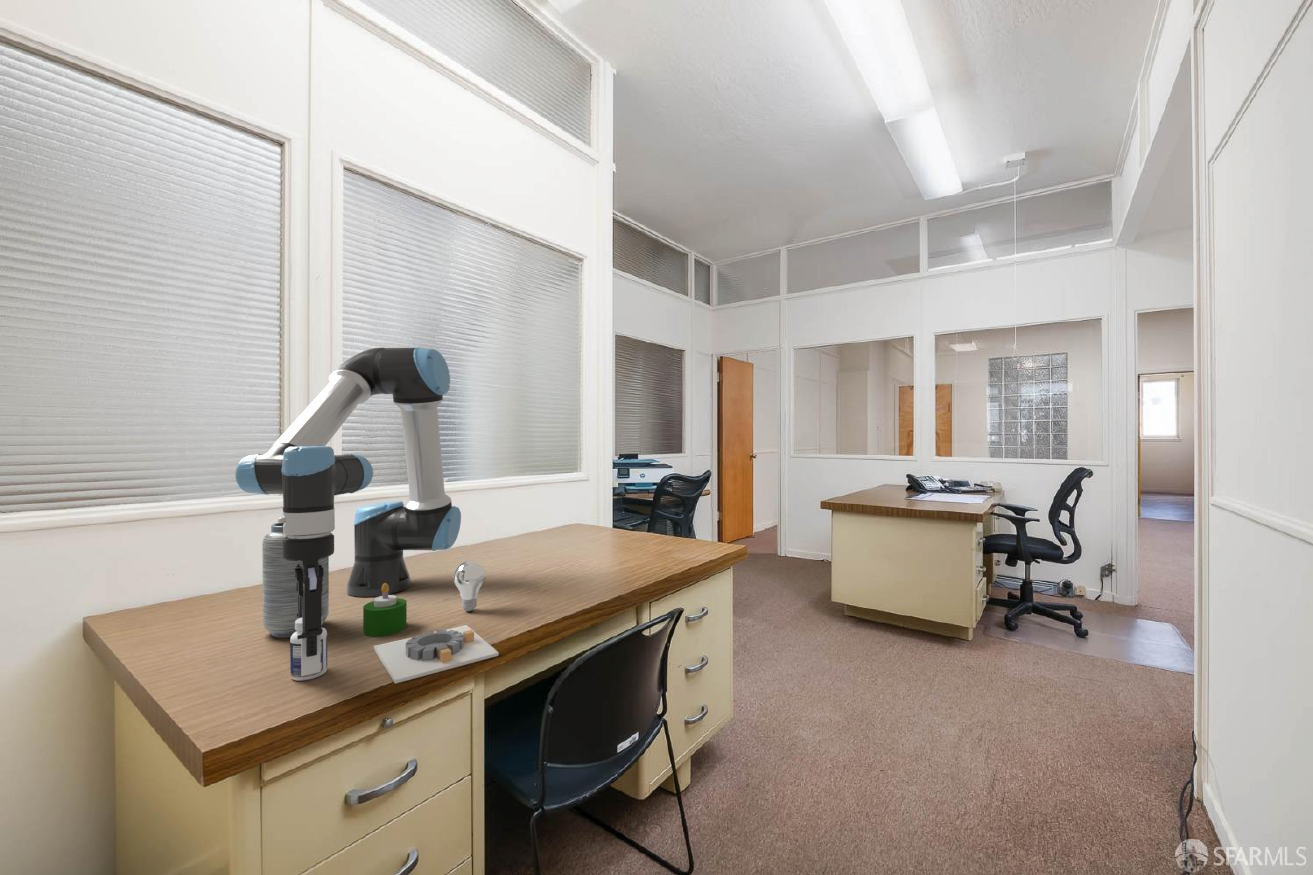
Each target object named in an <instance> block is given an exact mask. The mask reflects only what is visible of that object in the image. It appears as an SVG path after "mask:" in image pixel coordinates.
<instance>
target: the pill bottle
mask: <svg viewBox="0 0 1313 875" xmlns="http://www.w3.org/2000/svg"><path fill="white" fill-rule="evenodd" d="M323 623H324V622H322V624H323ZM295 630H297V631H296V632H295V633H294V634H292V636H291V637H289V638H290V641H289V643H290V645H289V649H290V652H289V653H290V654H289V655H290V656H289V657H290V660H289V663H290V666H289V667H290V678H291V679H292V680H293V681H297V682H298V681H309V680H313V679H316V678H318V677H320V676H323V675H324V674H325V673H326V672H327V671H328V632H327V631H328V630H327V629H326V628H325V627H322V630H323V631H322V634H321V672H318V673H313V674H309V675H305V676H301V639H297V636H298V635H302V633H303V629H302V618H299V619H297V620H296V621H295Z"/></svg>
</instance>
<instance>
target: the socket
mask: <svg viewBox="0 0 1313 875" xmlns="http://www.w3.org/2000/svg"><path fill="white" fill-rule="evenodd" d="M373 650H374V652H375V654H376V655H377V657H378V658H379V660H380V661H381V663H382V665H383V666H384V668H385V669H386V671H387V673H388V675H389V676H390V678H391V679H392V681H393V683H394V684H399V683H402V682H406V681H412V680H413V679H418V678H422V677H424V676H428V675H432V674H436V673H440V672H444V671H447V670H451V669H454V668H459V667H462V666H465V665H470V664H474V663H476V662H481V661H484V660H488V659H491V658H496V657H498V656H499V654H500V653H499V652H498V651H497V649H496V648H494V647H493V646H492V645H491V644H489V643H488V642H487V641H486V640H485V639H484V638H482V637H481V636H480V635H479V634H478V633H477V632H475V630H473V629H472V628H471V627H469V625H467V624H465V625H460V626H456V627H452V628H448V629H438V630H436V631H434V630H431V631H426V632H422V634H419V633H418V634H416V635H414V636H411V637H408V638H403V639H398V640H394V641H390V642H386V643H381V644H377V645H373Z"/></svg>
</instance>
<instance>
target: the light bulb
mask: <svg viewBox="0 0 1313 875" xmlns="http://www.w3.org/2000/svg"><path fill="white" fill-rule="evenodd" d="M485 575H486V572H485V570H484V567H483V565H482V564H481V563H479V562H477V561H474V560H466V561H463V562H461V563H459V565H458V566H457V567H456V569H455V570H454V573H453V583H454V585H455V586H456V588H457V590H458V591H459V594H460V598H461V599H462V600H461V607H462V610H464V611H465V612H467V613H471V612H473V611H474V610H475V609H476V608H477V604H478V602H477V601H478V600H477V598H478V595H479V591H480V588H481V587H482V585H483V583H484V582H485V577H486V576H485Z"/></svg>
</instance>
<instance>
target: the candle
mask: <svg viewBox="0 0 1313 875" xmlns="http://www.w3.org/2000/svg"><path fill="white" fill-rule="evenodd" d="M381 590H382V595H381V596H376V597H375V598H373V600H372V601H369V602H367V603H365V604H364V605H363V611H362V612H363V613H362V615H363V616H362V617H363V620H362V621H363V622H362V624H363V626H362V628H363V629H362V630H363V635H365V636H366V637H370V638H371V637H373V638H375V637H376V638H377V637H381V638H382V637H387V636H392V635H395V634H398V633H401V632H403V631H404V630H406V628H407V616H408V615H407V611H408V610H407V600H406V599H405V598H401V597H400V598H399V597H397V596H396V595H394V594H388V591H389V586H388V584H387V583H384V584H383V586H382V589H381Z"/></svg>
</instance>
